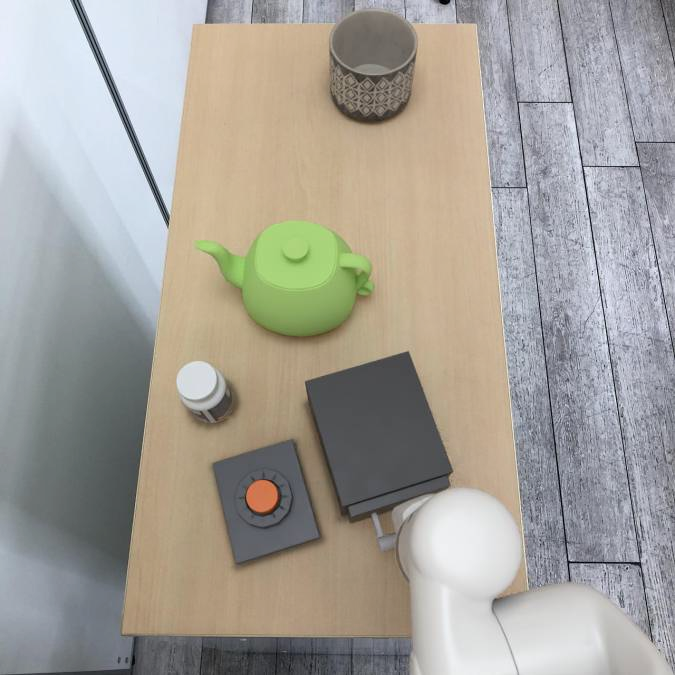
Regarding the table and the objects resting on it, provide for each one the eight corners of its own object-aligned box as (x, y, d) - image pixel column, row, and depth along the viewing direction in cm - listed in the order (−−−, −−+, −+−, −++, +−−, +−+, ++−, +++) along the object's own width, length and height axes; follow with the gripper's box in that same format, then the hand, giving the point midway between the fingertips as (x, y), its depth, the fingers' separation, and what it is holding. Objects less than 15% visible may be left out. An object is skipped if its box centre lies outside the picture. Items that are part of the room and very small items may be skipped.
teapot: (205, 338, 84) (183, 297, 72) (221, 241, 90) (202, 186, 77) (370, 349, 83) (375, 309, 71) (375, 250, 89) (381, 197, 77)
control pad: (320, 538, 75) (319, 536, 71) (238, 564, 74) (233, 563, 70) (293, 442, 79) (291, 435, 75) (215, 466, 78) (209, 460, 74)
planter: (352, 52, 102) (353, -3, 93) (423, 79, 100) (432, 25, 91) (316, 108, 98) (313, 55, 89) (389, 137, 96) (395, 87, 86)
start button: (282, 508, 72) (281, 506, 71) (252, 517, 72) (250, 516, 70) (274, 478, 74) (273, 475, 72) (244, 487, 73) (242, 485, 72)
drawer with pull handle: (453, 530, 74) (465, 524, 67) (361, 560, 73) (363, 558, 66) (403, 391, 80) (409, 372, 73) (317, 417, 79) (315, 400, 72)
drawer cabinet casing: (440, 485, 77) (453, 471, 68) (342, 516, 76) (342, 506, 67) (401, 376, 82) (408, 350, 73) (308, 403, 81) (304, 381, 72)
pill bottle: (229, 376, 82) (215, 349, 73) (240, 417, 80) (227, 395, 71) (186, 389, 82) (166, 364, 72) (196, 430, 80) (177, 410, 70)
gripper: (518, 630, 50) (472, 616, 67) (451, 450, 55) (424, 480, 72) (429, 661, 49) (406, 639, 66) (370, 475, 54) (362, 500, 71)
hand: (415, 556), depth 69 cm, fingers closed
